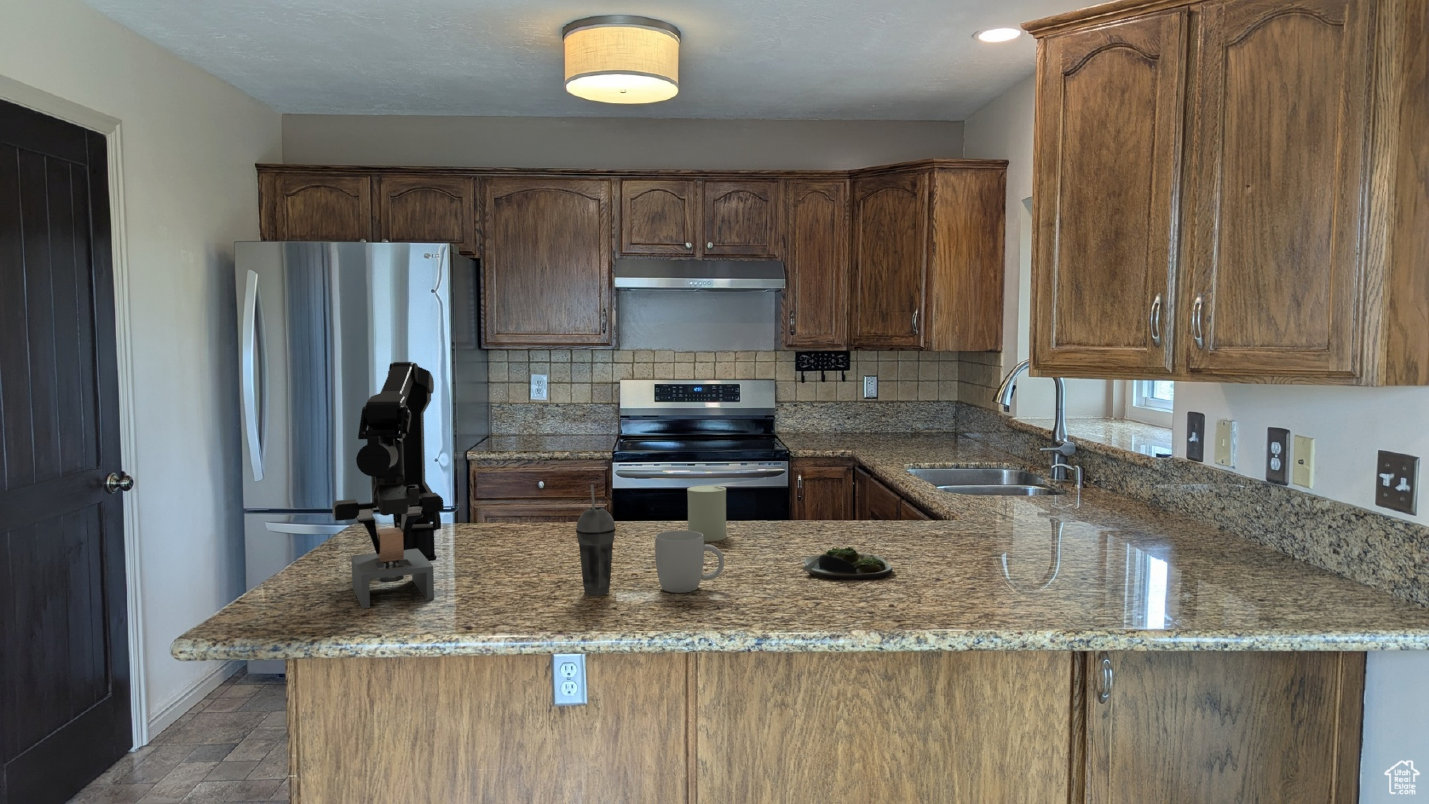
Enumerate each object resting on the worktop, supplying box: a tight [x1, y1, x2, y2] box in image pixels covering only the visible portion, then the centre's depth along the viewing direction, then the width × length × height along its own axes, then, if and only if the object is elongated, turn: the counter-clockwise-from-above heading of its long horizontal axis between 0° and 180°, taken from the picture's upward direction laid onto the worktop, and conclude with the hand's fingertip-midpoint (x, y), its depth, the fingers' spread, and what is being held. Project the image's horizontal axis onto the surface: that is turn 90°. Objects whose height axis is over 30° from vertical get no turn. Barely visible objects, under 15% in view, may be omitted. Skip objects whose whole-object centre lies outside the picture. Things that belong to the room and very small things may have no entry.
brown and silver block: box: [376, 527, 405, 583], centre depth 167 cm, size 4×5×9 cm
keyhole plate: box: [351, 549, 435, 610], centre depth 166 cm, size 12×16×6 cm
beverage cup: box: [575, 484, 617, 597], centre depth 165 cm, size 7×7×20 cm
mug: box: [654, 530, 725, 594], centre depth 167 cm, size 13×9×10 cm
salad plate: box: [802, 546, 893, 581], centre depth 182 cm, size 19×18×5 cm
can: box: [686, 485, 728, 543], centre depth 211 cm, size 9×9×12 cm
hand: (390, 552), depth 167 cm, fingers closed on brown and silver block, 4 cm apart
